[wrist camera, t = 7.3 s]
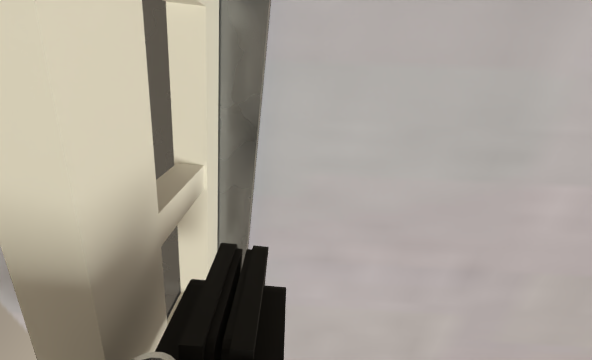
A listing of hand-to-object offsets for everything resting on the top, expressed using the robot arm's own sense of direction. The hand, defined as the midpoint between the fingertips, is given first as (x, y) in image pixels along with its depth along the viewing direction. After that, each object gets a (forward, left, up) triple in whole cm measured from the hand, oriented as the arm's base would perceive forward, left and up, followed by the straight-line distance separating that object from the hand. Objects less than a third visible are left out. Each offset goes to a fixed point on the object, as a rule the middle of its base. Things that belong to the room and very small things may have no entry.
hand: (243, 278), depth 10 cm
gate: (-2, -3, -6) cm, 7 cm away
